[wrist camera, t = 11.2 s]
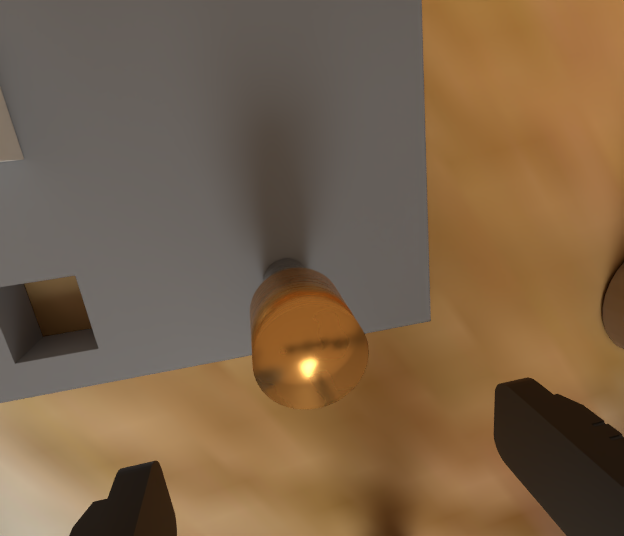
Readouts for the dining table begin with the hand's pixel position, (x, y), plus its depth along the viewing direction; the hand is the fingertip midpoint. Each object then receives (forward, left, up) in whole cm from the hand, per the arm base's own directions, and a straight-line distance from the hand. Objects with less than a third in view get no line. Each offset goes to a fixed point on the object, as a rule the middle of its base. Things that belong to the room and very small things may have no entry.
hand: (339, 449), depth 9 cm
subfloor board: (+6, -5, -16) cm, 17 cm away
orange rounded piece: (0, 0, -12) cm, 12 cm away
